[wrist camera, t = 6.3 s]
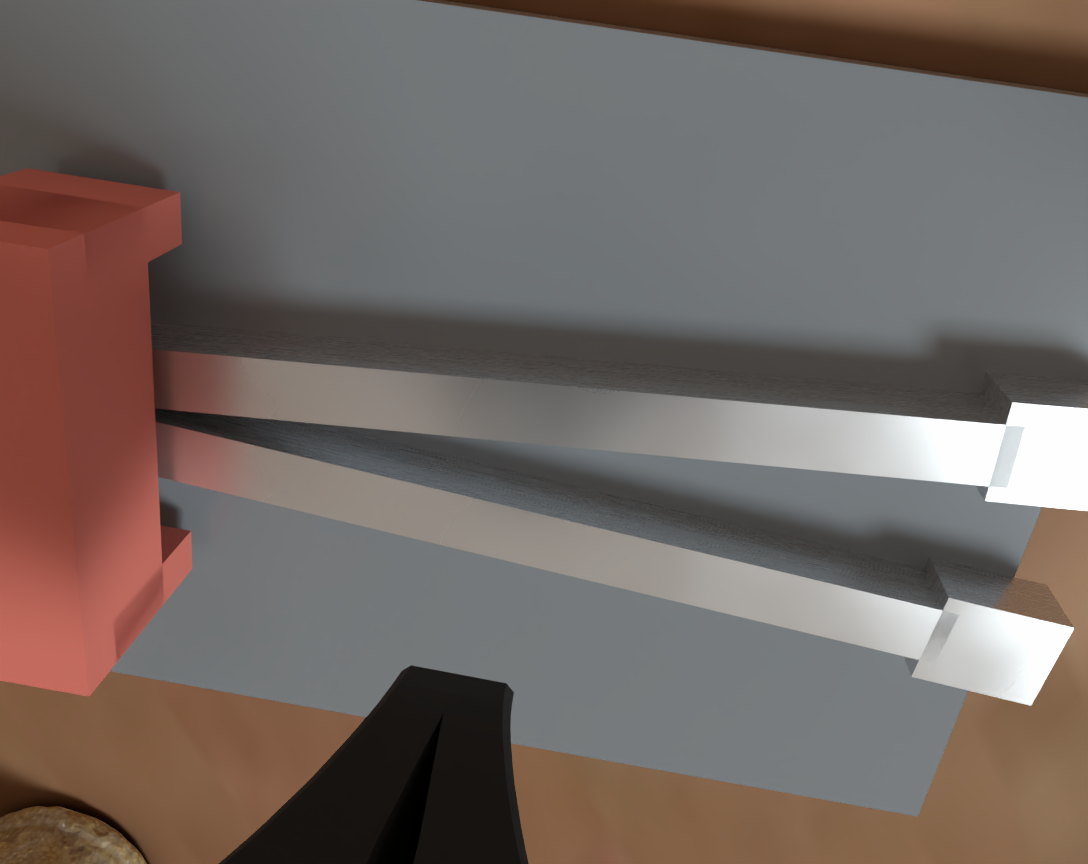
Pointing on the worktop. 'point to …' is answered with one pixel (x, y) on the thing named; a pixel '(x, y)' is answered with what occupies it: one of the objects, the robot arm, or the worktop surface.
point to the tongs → (643, 428)
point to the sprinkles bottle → (62, 839)
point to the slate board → (575, 332)
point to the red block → (79, 427)
